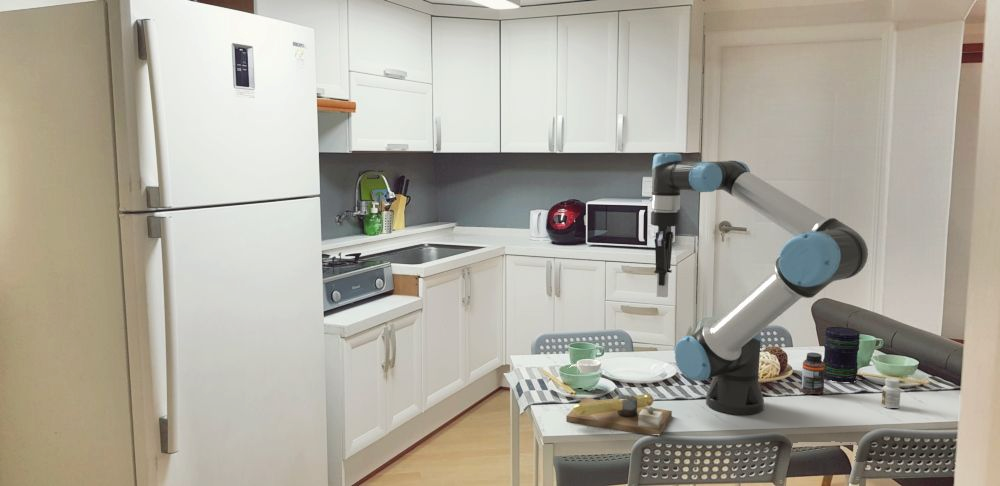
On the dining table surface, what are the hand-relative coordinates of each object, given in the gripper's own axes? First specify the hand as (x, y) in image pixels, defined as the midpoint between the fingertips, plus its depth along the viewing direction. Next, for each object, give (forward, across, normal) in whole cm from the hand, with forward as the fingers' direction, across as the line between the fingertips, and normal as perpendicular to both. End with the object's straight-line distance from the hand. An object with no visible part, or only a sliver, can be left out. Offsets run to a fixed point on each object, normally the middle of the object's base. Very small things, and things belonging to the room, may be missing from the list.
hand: (662, 296), depth 212 cm
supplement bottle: (+30, -25, +39) cm, 55 cm away
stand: (+29, +19, -6) cm, 36 cm away
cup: (+30, 0, -22) cm, 37 cm away
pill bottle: (+30, -21, +59) cm, 69 cm away
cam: (+28, +22, -7) cm, 36 cm away
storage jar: (+30, -42, +46) cm, 69 cm away
